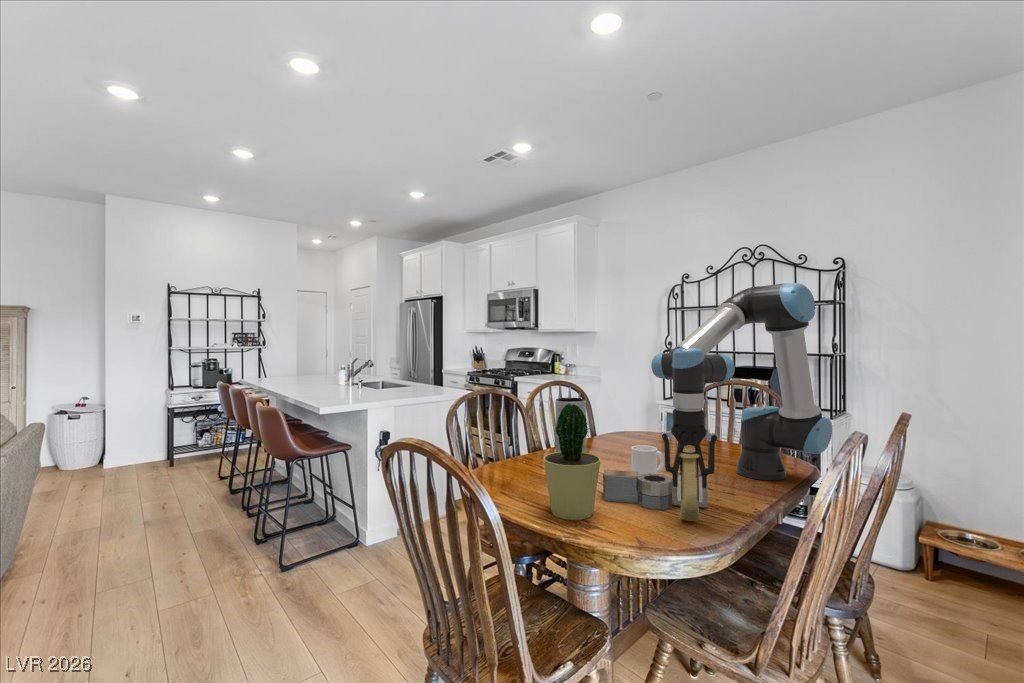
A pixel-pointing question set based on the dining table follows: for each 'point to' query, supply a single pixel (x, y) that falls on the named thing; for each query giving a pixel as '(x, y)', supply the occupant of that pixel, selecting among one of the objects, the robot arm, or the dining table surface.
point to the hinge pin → (689, 484)
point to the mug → (646, 459)
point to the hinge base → (632, 493)
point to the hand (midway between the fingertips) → (689, 499)
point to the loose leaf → (664, 488)
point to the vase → (559, 406)
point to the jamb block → (615, 472)
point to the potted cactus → (572, 468)
